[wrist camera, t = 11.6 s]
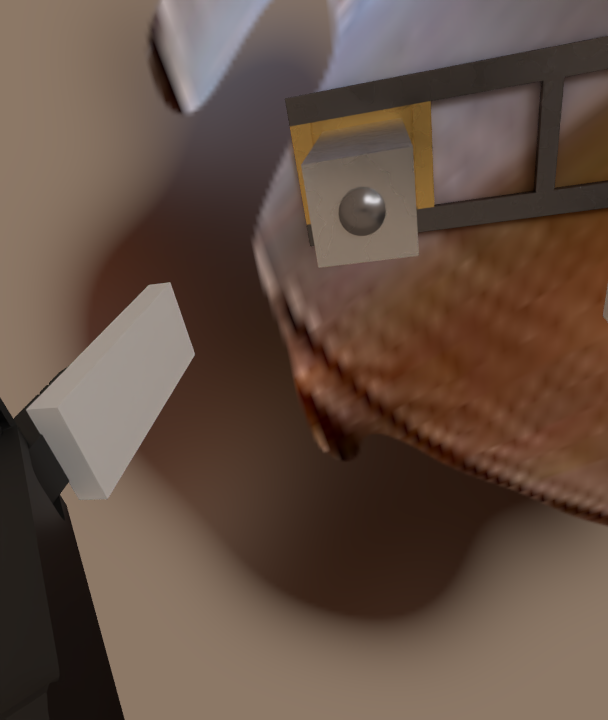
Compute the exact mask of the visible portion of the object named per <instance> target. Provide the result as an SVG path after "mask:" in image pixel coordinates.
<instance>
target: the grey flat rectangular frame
mask: <svg viewBox="0 0 608 720" xmlns="http://www.w3.org/2000/svg"><path fill="white" fill-rule="evenodd" d="M605 69H608V36H605V37H600V38H595V39H589V40H584V41H579V42H574V43H569V44H564V45H558V46H553V47H548V48H543V49H538V50H532V51H527V52H522V53H517V54H512V55H507V56H501V57H496V58H491V59H486V60H481V61H476V62H470V63H465V64H460V65H455V66H450V67H445V68H439V69H434V70H429V71H424V72H419V73H413V74H408V75H403V76H398V77H393V78H388V79H382V80H377V81H372V82H367V83H362V84H357V85H351V86H346V87H341V88H336V89H331V90H326V91H320V92H315V93H310V94H305V95H300V96H295V97H290V98H286V99H285V102H286V108H287V114H288V120H289V125H290V131H291V137H292V143H293V149H294V154H295V160H296V166H297V172H298V178H299V183H300V189H301V195H302V201H303V207H304V212H305V218H306V224H307V230H308V236H309V241H310V246H315V245H314V239H313V233H312V227H311V221H310V215H309V209H308V203H307V197H306V191H305V185H304V179H303V173H302V167H301V164H302V163H303V161H304V160H305V158H306V157H307V155H308V153H309V152H310V150H311V149H312V147H313V146H314V144H315V143H316V141H317V140H318V138H319V136H320V135H321V133H322V132H323V131H329V130H334V129H340V128H346V127H351V126H357V125H363V124H368V123H374V122H380V121H385V120H391V119H397V118H402V121H403V123H404V125H405V128H406V130H407V133H408V135H409V138H410V140H411V143H412V145H413V156H414V175H415V193H416V212H417V230H418V232H424V231H432V230H440V229H447V228H455V227H463V226H470V225H478V224H486V223H493V222H501V221H509V220H516V219H524V218H532V217H539V216H547V215H555V214H562V213H570V212H578V211H585V210H593V209H601V208H608V180H607V181H600V182H593V183H586V184H579V185H572V186H565V187H557V188H554V187H555V175H556V164H557V153H558V142H559V130H560V119H561V108H562V97H563V86H564V77H566V76H572V75H577V74H583V73H588V72H594V71H599V70H605ZM539 81H541V92H540V107H539V122H538V136H537V151H536V166H535V180H534V191H529V192H522V193H515V194H508V195H501V196H493V197H486V198H479V199H472V200H465V201H458V202H451V203H444V204H436V205H434V184H433V156H432V127H431V101H434V100H439V99H445V98H450V97H456V96H461V95H467V94H472V93H478V92H483V91H489V90H494V89H500V88H505V87H511V86H516V85H522V84H528V83H533V82H539Z"/></svg>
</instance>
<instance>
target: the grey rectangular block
mask: <svg viewBox="0 0 608 720" xmlns="http://www.w3.org/2000/svg"><path fill="white" fill-rule="evenodd" d="M301 167H302V173H303V179H304V185H305V191H306V197H307V203H308V209H309V215H310V221H311V227H312V233H313V239H314V245H315V251H316V257H317V263H318V268H321V267H330V266H338V265H346V264H354V263H363V262H371V261H379V260H387V259H396V258H404V257H412V256H419V248H418V230H417V212H416V193H415V175H414V156H413V145H412V143H411V140H410V138H409V135H408V133H407V130H406V128H405V125H404V123H403V121H402V118H397V119H391V120H385V121H380V122H374V123H368V124H363V125H357V126H351V127H346V128H340V129H334V130H329V131H323V132H322V133H321V135H320V136H319V138H318V140H317V141H316V143H315V144H314V146H313V147H312V149H311V150H310V152H309V153H308V155H307V157H306V158H305V160H304V161H303V163H302V164H301Z"/></svg>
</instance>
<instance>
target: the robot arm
mask: <svg viewBox="0 0 608 720" xmlns="http://www.w3.org/2000/svg"><path fill="white" fill-rule="evenodd" d="M603 317H604V318H605V319H606V320H607V322H608V286H607V293H606V299H605V306H604V313H603ZM194 355H195V353H194V350H193V347H192V345H191V342H190V339H189V336H188V333H187V330H186V327H185V324H184V321H183V318H182V316H181V312H180V309H179V307H178V304H177V301H176V298H175V295H174V292H173V289H172V286H171V283H170V282H169V283H162V284H154V285H148V286H147V288H145V289H144V290H143V291H142V292H141V293H140V295H139V296H138V297H137V298H136V299H135V300H134V301H133V302H132V303H131V304H130V305H129V306H128V307H127V308H126V309H125V310H124V311H123V312H122V313H121V314H120V315H119V316H118V317H117V318H116V319H115V320H114V321H113V322H112V323H111V324H110V325H109V326H108V327H107V328H106V329H105V330H104V331H103V332H102V333H101V334H100V335H99V336H98V337H97V338H96V339H95V340H94V341H93V342H92V343H91V344H90V345H89V346H88V347H87V348H86V349H85V350H84V351H83V352H82V353H81V354H80V355H79V356H78V357H77V359H75V361H73V363H72V364H71V365H70V366H68V367H67V368H65V369H64V370H62V371H61V372H59V373H58V374H57V376H55V377H54V378H53V379H52V381H50V383H49V385H47V386H45V388H43V390H41V392H40V395H37V396H36V397H35V398H34V399H33V400H32V401H31V402H30V403H29V404H28V405H27V406H26V407H25V408H24V409H23V410H22V411H21V412H20V413H19V414H18V415H17V416H16V417H15V418H14V419H13V418H12V416H11V414H10V413H9V411H8V410H7V408H6V406H5V405H4V403H3V402H2V400H1V398H0V720H125V719H124V716H123V712H122V708H121V705H120V701H119V697H118V694H117V690H116V686H115V682H114V679H113V675H112V672H111V668H110V664H109V661H108V657H107V653H106V650H105V646H104V642H103V638H102V635H101V631H100V627H99V623H98V620H97V616H96V612H95V609H94V605H93V601H92V598H91V594H90V590H89V587H88V583H87V579H86V575H85V572H84V568H83V565H82V561H81V557H80V554H79V550H78V546H77V542H76V539H75V535H74V531H73V528H72V524H71V520H70V516H69V513H68V509H67V505H66V504H65V502H64V500H63V499H62V497H61V496H60V493H61V492H62V490H63V489H64V488H65V486H66V485H67V484H68V482H69V483H70V485H71V487H72V489H73V490H74V492H75V493H76V495H77V497H78V499H79V500H92V499H108V497H109V496H110V494H111V492H112V491H113V489H114V487H115V486H116V484H117V482H118V481H119V479H120V477H121V476H122V474H123V473H124V471H125V469H126V468H127V466H128V464H129V463H130V461H131V459H132V458H133V456H134V454H135V453H136V451H137V449H138V448H139V446H140V444H141V443H142V441H143V440H144V438H145V436H146V434H147V433H148V431H149V430H150V428H151V426H152V425H153V423H154V421H155V419H156V418H157V416H158V415H159V413H160V411H161V410H162V408H163V406H164V405H165V403H166V401H167V400H168V398H169V396H170V395H171V393H172V391H173V390H174V388H175V387H176V385H177V383H178V382H179V380H180V378H181V377H182V375H183V373H184V372H185V370H186V368H187V367H188V365H189V363H190V362H191V360H192V358H193V357H194Z"/></svg>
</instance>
